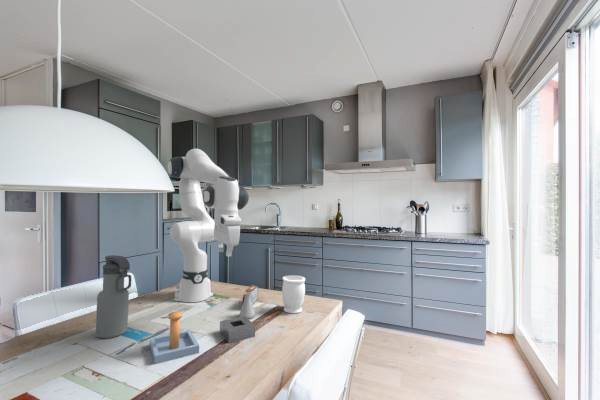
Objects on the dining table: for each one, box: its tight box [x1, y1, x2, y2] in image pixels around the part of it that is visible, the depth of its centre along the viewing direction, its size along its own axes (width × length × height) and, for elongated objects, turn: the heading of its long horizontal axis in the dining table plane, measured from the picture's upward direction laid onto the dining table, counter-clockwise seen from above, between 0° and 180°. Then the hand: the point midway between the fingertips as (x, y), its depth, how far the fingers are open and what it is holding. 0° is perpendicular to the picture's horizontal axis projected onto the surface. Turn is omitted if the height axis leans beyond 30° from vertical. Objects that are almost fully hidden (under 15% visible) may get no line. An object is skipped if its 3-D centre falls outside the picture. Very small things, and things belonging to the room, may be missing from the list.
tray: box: [149, 329, 200, 365], centre depth 96 cm, size 13×13×2 cm
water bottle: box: [95, 254, 132, 339], centre depth 106 cm, size 10×10×28 cm
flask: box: [238, 292, 256, 320], centre depth 125 cm, size 7×7×10 cm
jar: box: [281, 274, 306, 314], centre depth 134 cm, size 11×10×15 cm
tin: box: [241, 284, 259, 305], centre depth 139 cm, size 15×3×8 cm, turn 168°
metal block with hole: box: [219, 316, 256, 344], centre depth 108 cm, size 10×10×4 cm
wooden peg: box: [167, 311, 183, 349], centre depth 96 cm, size 4×4×11 cm
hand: (224, 253), depth 112 cm, fingers open, 8 cm apart
